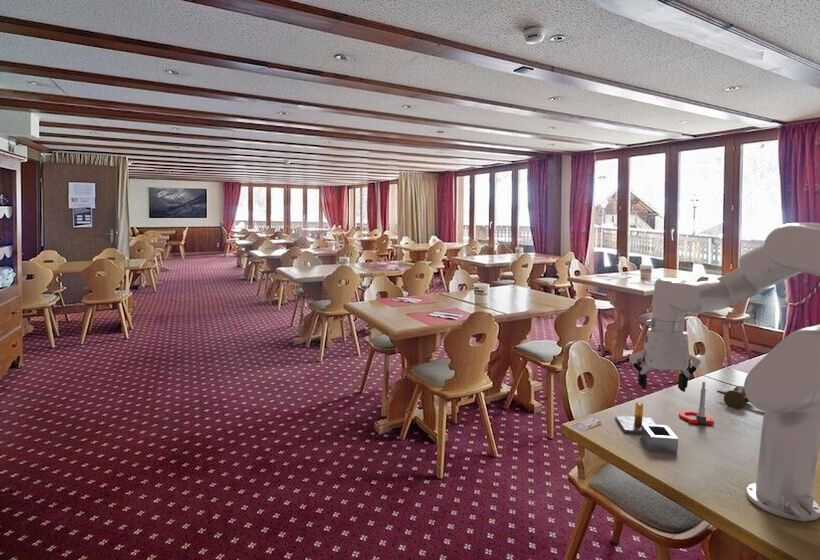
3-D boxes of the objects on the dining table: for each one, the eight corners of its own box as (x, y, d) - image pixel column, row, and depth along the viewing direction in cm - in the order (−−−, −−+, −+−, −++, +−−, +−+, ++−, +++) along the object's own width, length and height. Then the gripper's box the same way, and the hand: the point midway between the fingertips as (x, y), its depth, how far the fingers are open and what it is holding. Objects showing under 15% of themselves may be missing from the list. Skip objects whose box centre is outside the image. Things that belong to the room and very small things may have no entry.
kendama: (785, 424, 144) (710, 402, 159) (792, 416, 150) (720, 396, 165) (788, 405, 143) (712, 385, 158) (795, 398, 149) (722, 379, 164)
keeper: (662, 435, 134) (664, 411, 134) (624, 433, 136) (626, 409, 135) (650, 420, 144) (652, 398, 143) (615, 418, 146) (616, 396, 145)
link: (677, 453, 125) (678, 438, 124) (650, 451, 126) (651, 436, 125) (665, 439, 132) (667, 425, 132) (640, 437, 134) (641, 423, 133)
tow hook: (674, 413, 151) (686, 424, 142) (677, 373, 150) (689, 381, 141) (703, 415, 150) (717, 426, 141) (706, 374, 149) (720, 383, 140)
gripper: (636, 327, 122) (631, 391, 125) (710, 330, 120) (703, 396, 122) (628, 320, 130) (623, 381, 132) (697, 323, 127) (691, 385, 129)
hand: (661, 388), depth 127 cm, fingers open, 9 cm apart
